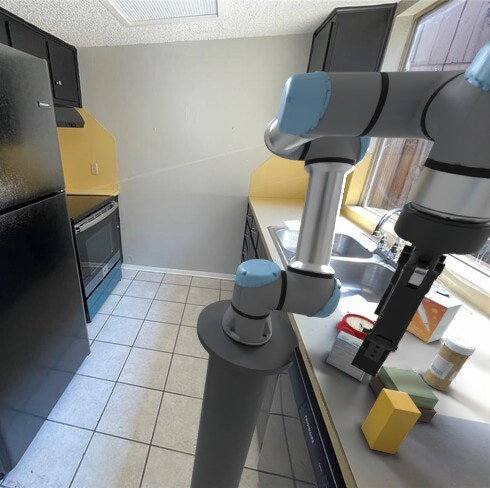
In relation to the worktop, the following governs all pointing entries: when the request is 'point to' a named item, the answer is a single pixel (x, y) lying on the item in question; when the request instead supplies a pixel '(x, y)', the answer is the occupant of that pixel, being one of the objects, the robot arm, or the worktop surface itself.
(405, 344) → the worktop surface
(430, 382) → the sprinkles bottle
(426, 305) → the small box
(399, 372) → the green brown square block
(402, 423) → the yellow bar
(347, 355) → the medicine box
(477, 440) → the worktop surface
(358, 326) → the alarm clock
